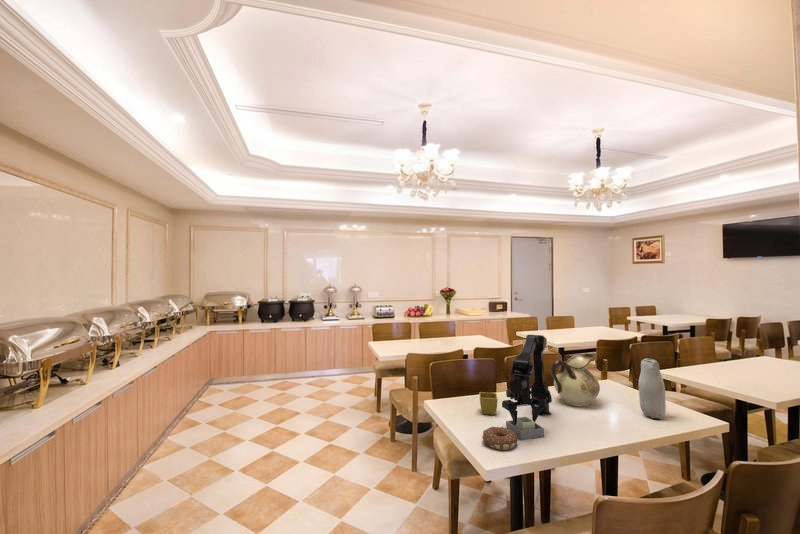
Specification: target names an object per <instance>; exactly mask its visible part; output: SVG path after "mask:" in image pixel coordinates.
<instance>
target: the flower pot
mask: <svg viewBox="0 0 800 534" xmlns="http://www.w3.org/2000/svg"><path fill="white" fill-rule="evenodd" d="M478 393H479V403H480V404H479V405H480V410H481V412H482V414H483V415H490V416H495V414H496V412H497V409H498V400H499V399H498V394H497V393H496V392H483V391H480V392H478Z"/></svg>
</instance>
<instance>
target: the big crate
mask: <svg viewBox="0 0 800 534" xmlns="http://www.w3.org/2000/svg"><path fill="white" fill-rule="evenodd" d="M505 426H506V427H505V428H507V429H509V430H510V431H512V432H514V433H515V435H516V436H517V438H518V439H519V440H520V441H524V440H531V439H532V440H533V439H537V438H538V439H539V438H545V428H544V427H542V426H541V425H540V424H538V423H536V422H535V429H530V430H523V431H521V430H519V429H518V428H517V427H515V424H514V422H513V420H512V419H511V420H506V421H505Z"/></svg>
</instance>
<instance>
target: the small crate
mask: <svg viewBox="0 0 800 534" xmlns="http://www.w3.org/2000/svg"><path fill="white" fill-rule="evenodd" d="M535 423H536V421H535V422H534V421H533V420H532V418H529V417H528V416H521V417H518V416H517V424H516V425H515V427H517V428H518V429H519V430H521V431H523V430H530V429H535Z"/></svg>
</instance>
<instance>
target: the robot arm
mask: <svg viewBox="0 0 800 534" xmlns="http://www.w3.org/2000/svg"><path fill="white" fill-rule="evenodd" d="M547 341H548V340H547V337H545V336H544V335H541V334H526V337H525V342H524V344H523V347H522V350H521V352H520V354H518V355H516V357H515V359H514V360H513V361H512V367H511V371H510V375H511V376H513V379H512V380H511V381H509V384H508V388H509V389H507V390H506V392H505V395H506V398H510V399H506V400H505V399H504V400H503V401H502V402H501V407H502V408H504V410H506V411H508V412H509V414H510V416H511V420H513V422H514V424H515V425H516V424H517V418H518V413H519V412H518V410H517V409H518V407H526V406H530V408H531V420H533V421H534V422H535V423H536V421H537V419H538V417H539V416H548V415H549V416H550V415H552V412H550V404H551V403H553V398H552V394H551V392H550V390H549V385H548V384H547V382H546V381H545V370H544V369H545V368H544V367H545V366H544V351H545V349H546V348H547V343H548V342H547ZM532 357H533V362H532ZM533 373H534V374H533ZM532 374H533V376H534V377H533V378H534V382H533V383H532V385H531V376H532ZM513 400H514V401H513Z"/></svg>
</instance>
